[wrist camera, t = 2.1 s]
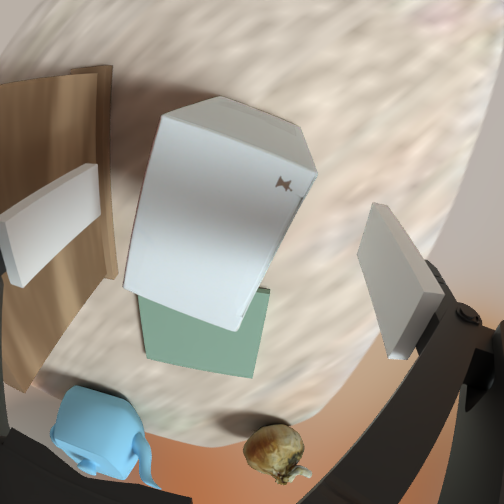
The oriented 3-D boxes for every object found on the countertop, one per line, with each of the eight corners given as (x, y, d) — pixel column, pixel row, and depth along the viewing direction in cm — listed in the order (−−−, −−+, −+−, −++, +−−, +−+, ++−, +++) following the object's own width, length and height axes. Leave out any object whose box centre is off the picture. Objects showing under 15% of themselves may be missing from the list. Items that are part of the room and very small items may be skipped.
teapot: (183, 441, 42) (167, 505, 32) (82, 414, 42) (59, 467, 33) (172, 401, 35) (149, 481, 26) (56, 369, 36) (21, 431, 26)
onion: (290, 408, 34) (289, 468, 27) (314, 434, 37) (314, 486, 30) (235, 419, 36) (226, 474, 29) (264, 444, 39) (259, 492, 32)
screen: (89, 267, 26) (2, 384, 14) (78, 68, 17) (-88, 99, 5) (118, 273, 26) (35, 401, 14) (112, 65, 17) (-61, 86, 5)
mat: (148, 354, 31) (146, 358, 30) (138, 267, 25) (135, 271, 25) (252, 373, 31) (252, 378, 30) (270, 289, 25) (269, 294, 25)
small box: (220, 94, 18) (159, 106, 9) (303, 126, 19) (323, 169, 10) (182, 201, 22) (117, 290, 13) (255, 230, 23) (235, 337, 14)
